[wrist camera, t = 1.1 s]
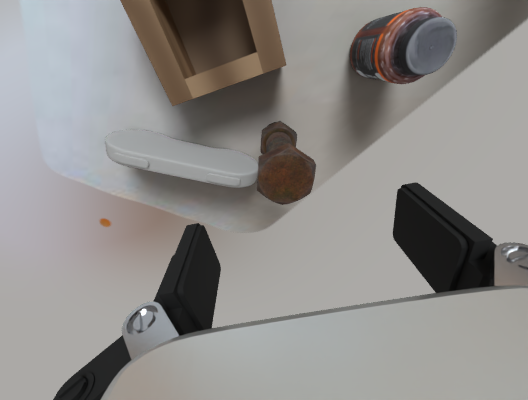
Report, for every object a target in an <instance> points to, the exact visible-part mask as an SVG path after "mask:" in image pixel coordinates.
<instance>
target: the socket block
mask: <svg viewBox="0 0 528 400" xmlns="http://www.w3.org/2000/svg"><path fill="white" fill-rule="evenodd" d="M120 1H121V3H122V5H123V7H124V9H125V11H126V13H127V15H128V17H129V19H130V21H131V23H132V25H133V27H134V29H135V31H136V33H137V35H138V37H139V39H140V41H141V43H142V45H143V47H144V49H145V51H146V53H147V55H148V57H149V59H150V61H151V63H152V65H153V67H154V69H155V71H156V73H157V75H158V77H159V80H160V82H161V84H162V86H163V88H164V90H165V92H166V94H167V96H168V98H169V100H170V102H171V104H172V106H174V105H177V104H180V103H183V102H186V101H188V100H191V99H194V98H197V97H200V96H202V95H205V94H208V93H211V92H213V91H216V90H219V89H222V88H225V87H227V86H230V85H233V84H236V83H239V82H241V81H244V80H247V79H250V78H252V77H255V76H258V75H261V74H264V73H266V72H269V71H272V70H275V69H278V68H280V67H283V66H286V62H285V57H284V53H283V48H282V44H281V40H280V35H279V31H278V27H277V22H276V18H275V14H274V9H273V5H272V1H271V0H120Z"/></svg>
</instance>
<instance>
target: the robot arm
mask: <svg viewBox="0 0 528 400" xmlns="http://www.w3.org/2000/svg"><path fill="white" fill-rule="evenodd" d="M393 237H394V240H395V241H396V242H397V244H398V245H399V246H400V247H401V249H402V250H403V251H404V253H405V254H406V255H407V257H408V258H409V259H410V260H411V262H412V263H413V264H414V265H415V266H416V268H417V269H418V271H419V272H420V273H421V274H422V276H423V277H424V278H425V279H426V281H427V282H428V283H429V285H430V286H431V287H432V288H433V290H434V291H435V292H436V293H433V294H427V295H420V296H413V297H406V298H400V299H393V300H387V301H380V302H373V303H366V304H360V305H354V306H347V307H341V308H334V309H328V310H321V311H315V312H309V313H302V314H296V315H289V316H284V317H277V318H271V319H265V320H258V321H252V322H246V323H240V324H234V325H229V326H223V327H217V328H212V322H213V315H214V309H215V303H216V296H217V290H218V284H219V277H220V271H221V267H220V263H219V260H218V258H217V256H216V253H215V251H214V248H213V246H212V244H211V241H210V239H209V236H208V234H207V231H206V229H205V227H204V226H203V225H202V226H201V225H200V224H199V223H197V224H192V225H187V226H186V228H185V231H184V233H183V236H182V238H181V240H180V243H179V245H178V248H177V250H176V253H175V255H174V256H173V257H172V258H171V261H170V263H169V266H168V268H167V271H166V273H165V275H164V278H163V280H162V282H161V285H160V287H159V290H158V292H157V294H156V297H155V299H154V302H147V303H144V304H142V305H140V306H139V307H137V308H136V309H135V310H133V311H132V312H131V313H130V314H129V316H128V317H127V318H126V320H125V322H124V323H123V327H122V334H123V335H122V336H121V337H120V338H119V339H118V340H116V341H115V342H114V343H112V344H111V345H110V346H109V347H108V348H106V349H105V350H104V351H103V352H101V353H100V354H99V355H98V356H96V357H95V358H94V359H93V360H92V361H91V362H89V363H88V364H87V365H85V366H84V367H83V368H82V369H80V370H79V371H78V372H77V373H76V374H74V375H73V376H72V377H71V378H70V379H69V380H68V381H67V382H65V384H64V385H63V386H62V387H61V388H60V390H59V391H58V392H57V394H56V396H55V398H54V399H53V400H528V245H525V244H520V243H503V244H500V245H498V246H497V245H496V244H494V243H493V242H492V240H493V239H492V238H491V237H489V236H488V235H487V234H485V233H484V232H483V231H481V230H480V229H479V228H477V227H476V226H475V225H473V224H472V223H471V222H469V221H468V220H467V219H465V218H464V217H463V216H461V215H460V214H459V213H457V212H456V211H454V210H453V209H452V208H451V207H449V206H448V205H446V204H445V203H444V202H443V201H441V200H440V199H438V198H437V197H436V196H434V195H433V194H432V193H430V192H429V191H428V190H426V189H425V188H424V187H422V186H421V185H420V184H418V183H411V184H405V185H402V186H401V188H400V189H398V192H397V200H396V209H395V218H394V228H393ZM211 328H212V329H211Z"/></svg>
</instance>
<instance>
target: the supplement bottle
mask: <svg viewBox="0 0 528 400" xmlns="http://www.w3.org/2000/svg"><path fill="white" fill-rule="evenodd" d="M456 32H457V31H456V28H455V25H454V24H453V23H452V22H451V21H450V20H449V19H447V18H445V17H442V16H441V15H440V14H439V13H438V12H437V11H436V10H433V9H431V8H427V7H420V8H413V9H409V10H406V11H403V12H399V13H396V14H392V15H389V16H386V17H382V18H379V19H376V20H373V21H371V22H369V23H368V24H366V25H365V26H364V27H363V28H362V29H361V30H360V31H359V32H358V33H357V35H356V37H355V38H354V40H353V43H352V46H351V51H350V60H351V64H352V66H353V68H354V70H355V71H356V72H357V73H358V74H359V75H361V76H364V77H367V78H372V79H377V80H381V81H386V82H391V83H396V84H406V83H411V82H414V81H417V80H418V79H420V78H422V77H423V76H425V75H427V74H430V73H433V72H435V71H436V70H438V69H439V68H441V67H442V66H443V65H444V64H445V63H446V62H447V61H448V59H449V58H450V56H451V55H452V53H453V51H454V48H455V45H456V40H457V33H456Z"/></svg>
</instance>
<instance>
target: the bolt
mask: <svg viewBox="0 0 528 400" xmlns="http://www.w3.org/2000/svg"><path fill="white" fill-rule="evenodd" d="M296 141H297V134H296V132H295V131H294V130H292V129H291V128H290V127H288V126H287V125H286V124H284V123H282V122H281V121H279V122H274V123H272V124H269V125H268V126H267V127H266V128H264V129H263V130H262V136H261V153H263V155H261V156H259V162H258V179H257V191H259V192H260V193H261V194H262V195H264V196H265V197H266V198H268V199H270V200H271V201H273V202H276V203H278V204H282V205H283V204H289V203H293V202H295V201H298V200H300V199H302V198H304V197H305V196H307V195H308V194H310V192H311V190H312V186H313V182H314V178H315V169H316V164H315V162H314V160H313V159H311V158H310V157H308V156H307V155H306V154H304V153H303V152H301V151H300V150H298V149H297V148H296Z"/></svg>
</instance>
